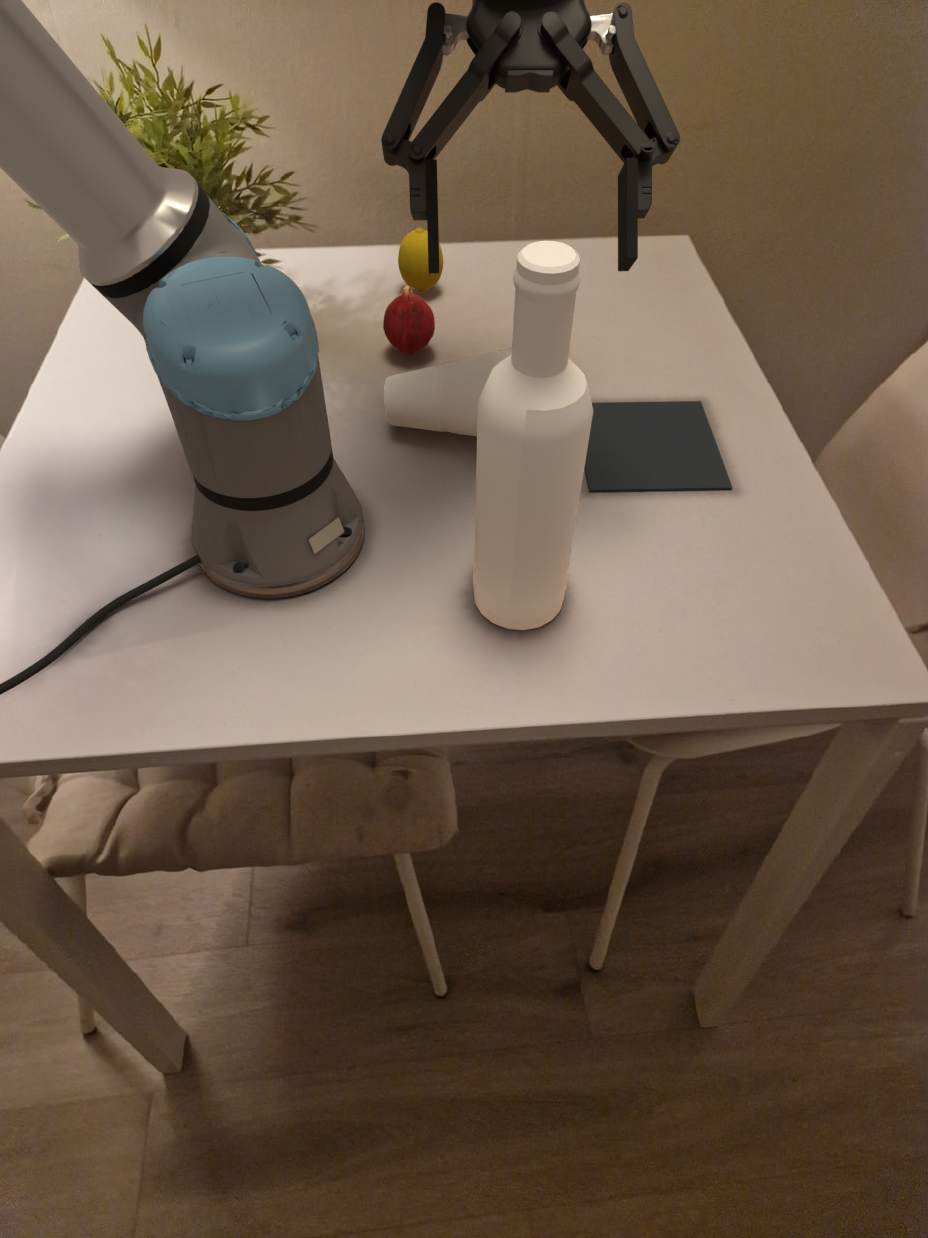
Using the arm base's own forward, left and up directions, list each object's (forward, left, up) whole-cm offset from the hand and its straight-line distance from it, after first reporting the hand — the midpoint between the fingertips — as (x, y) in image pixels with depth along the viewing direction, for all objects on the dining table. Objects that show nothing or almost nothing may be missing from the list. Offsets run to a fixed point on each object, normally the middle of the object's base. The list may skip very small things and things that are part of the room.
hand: (531, 266), depth 55 cm
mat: (+18, +4, -24) cm, 31 cm away
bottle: (-4, -8, -25) cm, 26 cm away
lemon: (+10, +42, -25) cm, 49 cm away
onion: (+3, +30, -25) cm, 39 cm away
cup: (-4, +18, -21) cm, 28 cm away
